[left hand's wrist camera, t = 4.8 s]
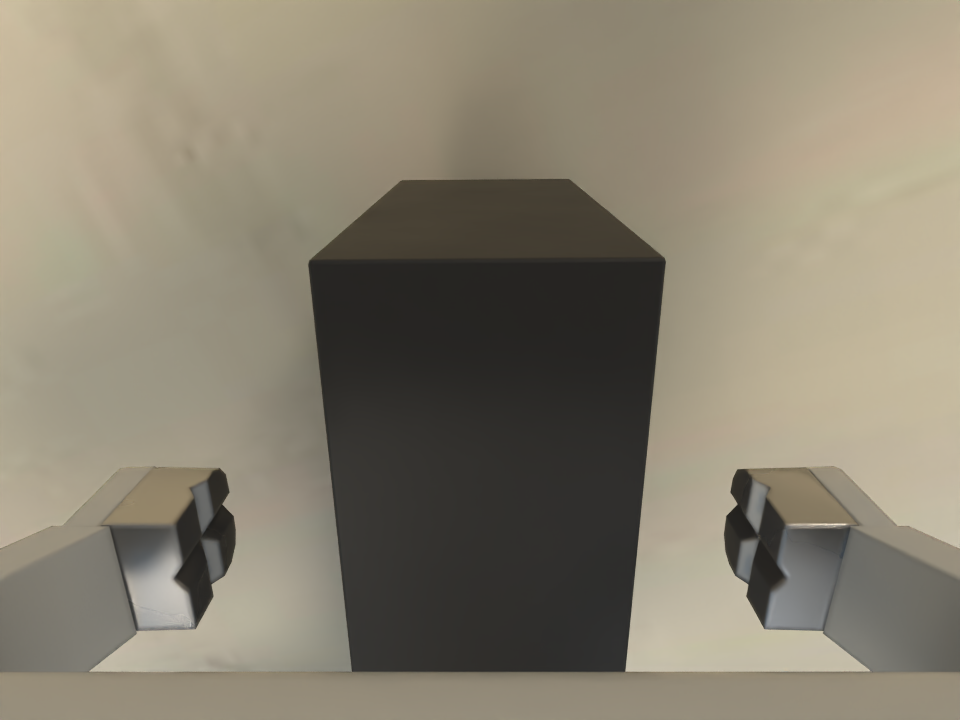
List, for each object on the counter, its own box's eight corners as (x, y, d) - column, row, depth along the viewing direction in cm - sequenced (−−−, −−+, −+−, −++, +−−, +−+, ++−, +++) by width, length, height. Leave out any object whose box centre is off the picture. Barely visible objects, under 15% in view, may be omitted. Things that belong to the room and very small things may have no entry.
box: (400, 180, 22) (306, 260, 10) (570, 178, 22) (667, 257, 10) (428, 730, 31) (396, 1092, 20) (547, 730, 31) (584, 1093, 20)
